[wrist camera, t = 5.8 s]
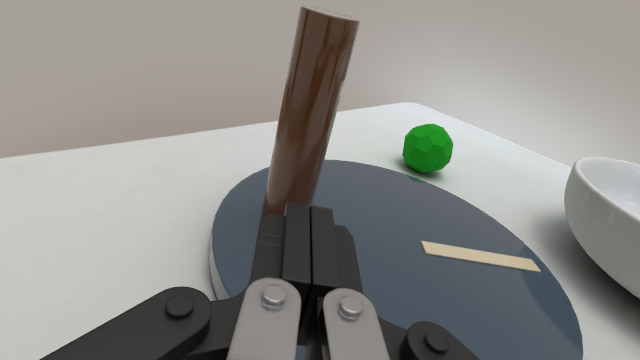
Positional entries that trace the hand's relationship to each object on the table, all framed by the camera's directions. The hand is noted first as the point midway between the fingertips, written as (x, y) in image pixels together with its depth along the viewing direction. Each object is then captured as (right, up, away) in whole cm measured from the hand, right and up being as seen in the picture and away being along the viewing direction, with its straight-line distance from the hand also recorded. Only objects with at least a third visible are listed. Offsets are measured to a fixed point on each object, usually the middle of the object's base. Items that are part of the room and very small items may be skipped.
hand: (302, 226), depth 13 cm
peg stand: (+5, -4, +12) cm, 14 cm away
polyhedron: (+11, +3, +27) cm, 30 cm away
